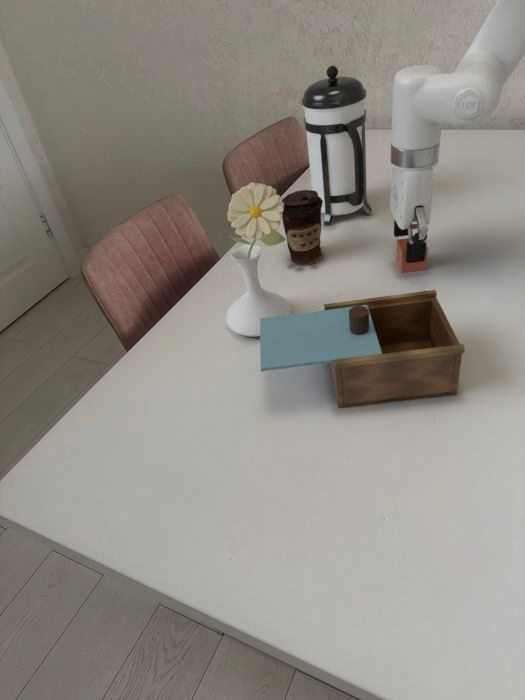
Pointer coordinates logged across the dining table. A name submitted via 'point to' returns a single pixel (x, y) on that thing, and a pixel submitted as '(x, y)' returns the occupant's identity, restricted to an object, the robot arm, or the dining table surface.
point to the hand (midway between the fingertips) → (408, 247)
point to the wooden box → (401, 353)
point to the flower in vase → (254, 256)
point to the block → (402, 258)
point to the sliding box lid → (317, 337)
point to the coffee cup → (303, 226)
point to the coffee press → (337, 143)
